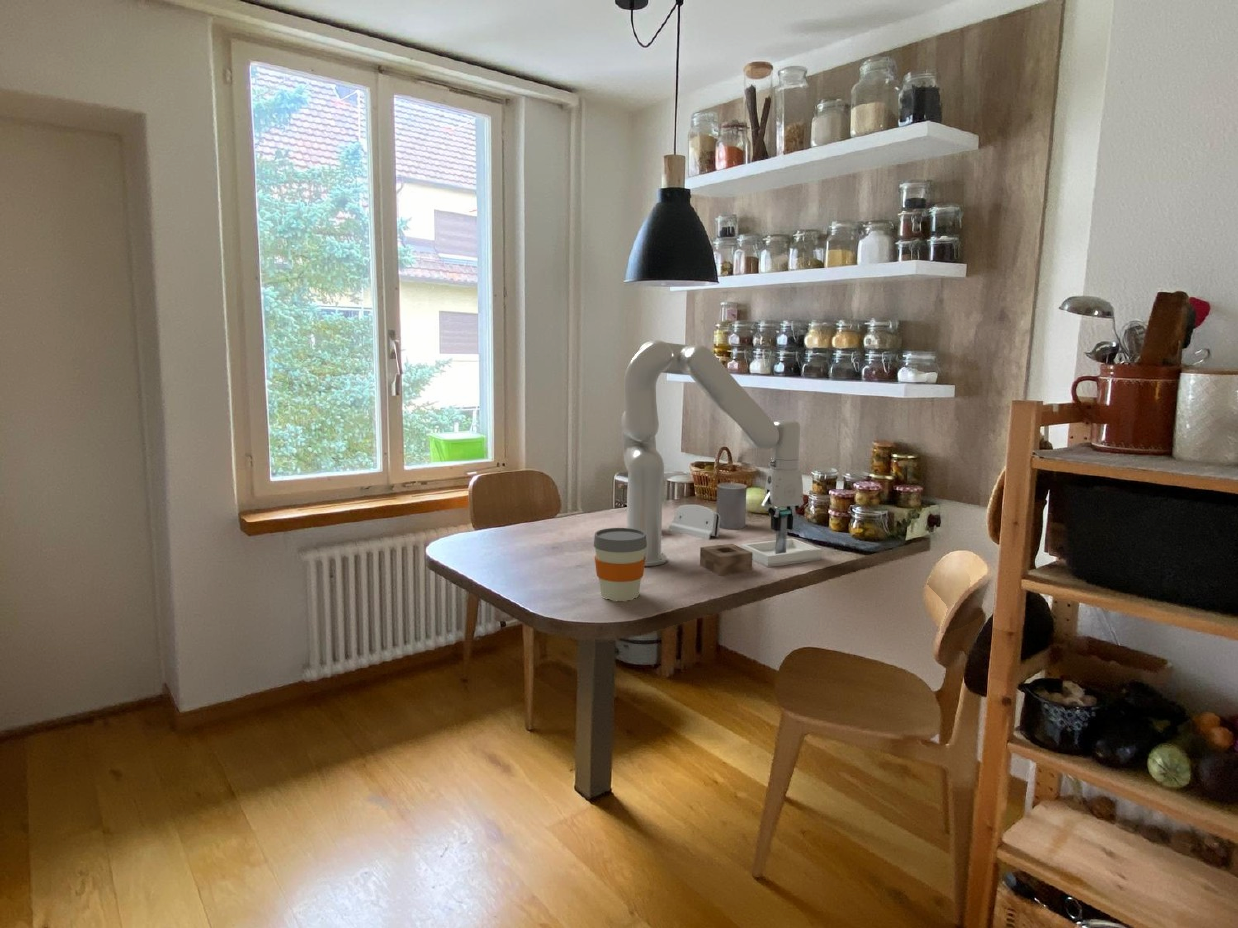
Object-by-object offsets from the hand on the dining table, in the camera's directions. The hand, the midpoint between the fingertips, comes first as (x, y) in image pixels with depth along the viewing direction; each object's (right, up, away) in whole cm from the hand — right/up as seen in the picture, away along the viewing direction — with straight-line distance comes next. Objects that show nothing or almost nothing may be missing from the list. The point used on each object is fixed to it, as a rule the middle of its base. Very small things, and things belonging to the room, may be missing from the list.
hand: (781, 528), depth 209 cm
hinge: (-21, -4, +28) cm, 36 cm away
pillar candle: (-9, -2, +37) cm, 39 cm away
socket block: (-17, -10, -9) cm, 22 cm away
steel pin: (0, -7, +1) cm, 7 cm away
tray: (0, -8, +1) cm, 8 cm away
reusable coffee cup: (-45, -13, -32) cm, 57 cm away
